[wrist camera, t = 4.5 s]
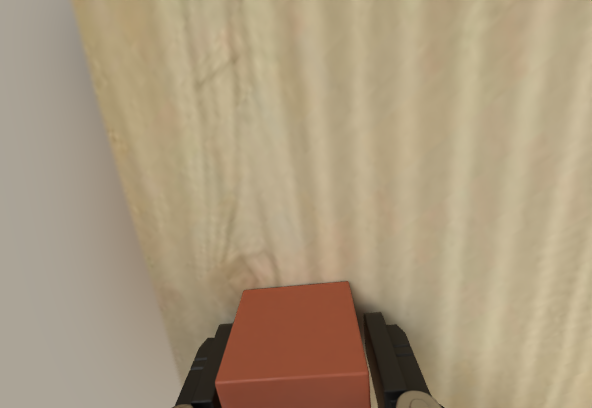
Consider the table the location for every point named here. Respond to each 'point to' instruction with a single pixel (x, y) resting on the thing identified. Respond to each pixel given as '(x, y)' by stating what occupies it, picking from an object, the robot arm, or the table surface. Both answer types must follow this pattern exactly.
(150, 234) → the table surface
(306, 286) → the block
